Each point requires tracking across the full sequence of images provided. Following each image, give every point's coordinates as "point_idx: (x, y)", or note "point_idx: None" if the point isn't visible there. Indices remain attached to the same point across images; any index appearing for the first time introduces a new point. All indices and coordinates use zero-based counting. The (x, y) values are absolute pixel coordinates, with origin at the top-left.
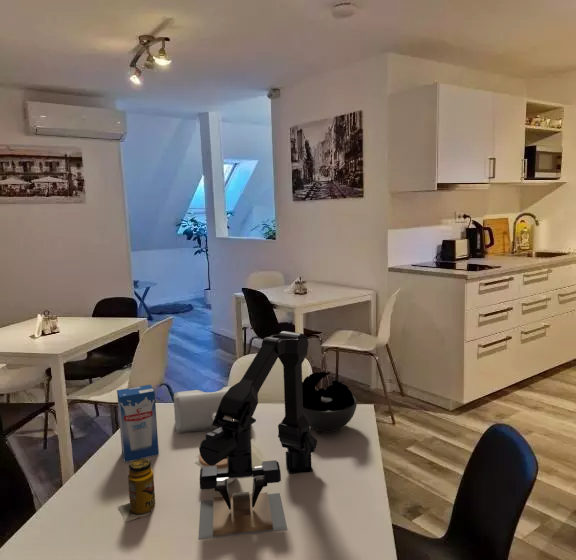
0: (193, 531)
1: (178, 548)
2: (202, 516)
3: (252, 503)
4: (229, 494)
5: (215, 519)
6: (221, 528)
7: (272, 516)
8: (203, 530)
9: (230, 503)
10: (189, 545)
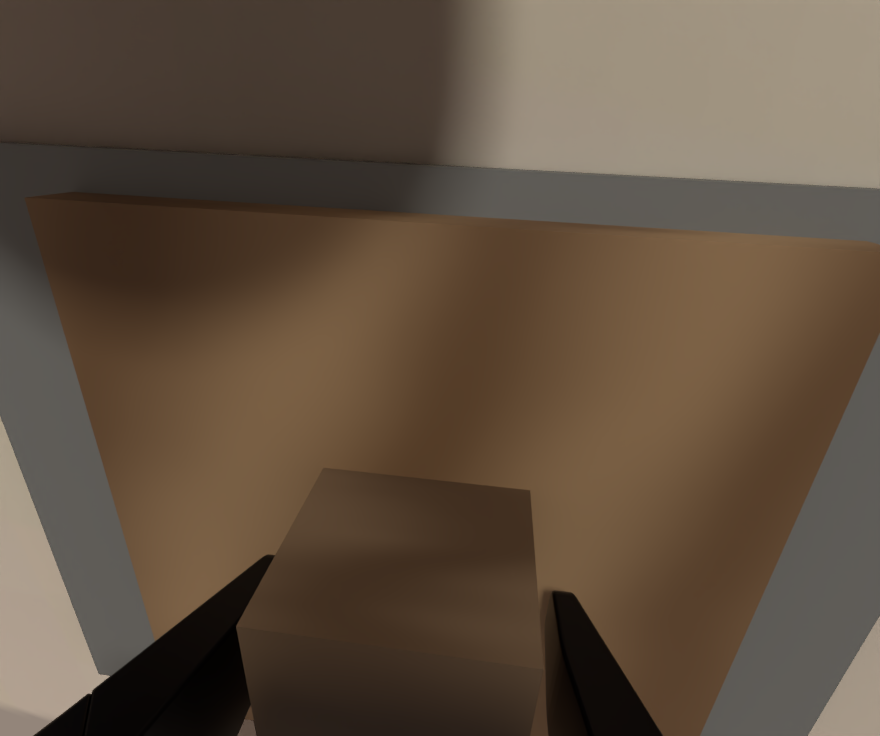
0: (39, 564)
1: (6, 671)
2: (37, 452)
3: (549, 713)
4: (179, 704)
5: (163, 601)
6: None
7: None
8: (107, 612)
9: (245, 713)
10: (64, 669)
